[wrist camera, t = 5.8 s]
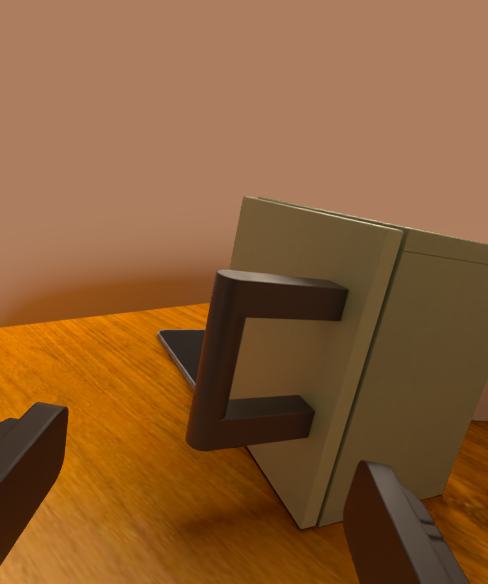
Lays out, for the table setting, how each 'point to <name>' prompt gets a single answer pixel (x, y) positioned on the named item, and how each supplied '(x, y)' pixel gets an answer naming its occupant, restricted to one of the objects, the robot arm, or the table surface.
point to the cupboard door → (290, 343)
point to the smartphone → (184, 350)
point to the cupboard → (417, 367)
